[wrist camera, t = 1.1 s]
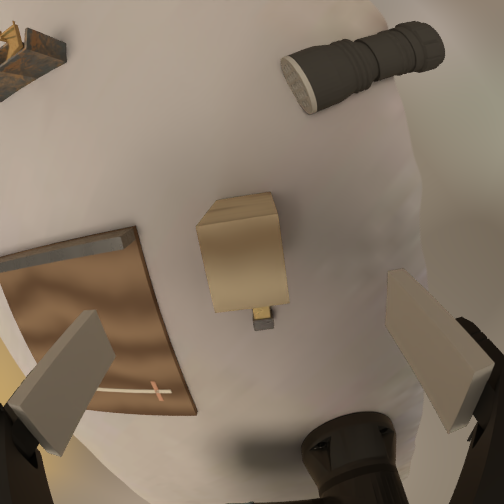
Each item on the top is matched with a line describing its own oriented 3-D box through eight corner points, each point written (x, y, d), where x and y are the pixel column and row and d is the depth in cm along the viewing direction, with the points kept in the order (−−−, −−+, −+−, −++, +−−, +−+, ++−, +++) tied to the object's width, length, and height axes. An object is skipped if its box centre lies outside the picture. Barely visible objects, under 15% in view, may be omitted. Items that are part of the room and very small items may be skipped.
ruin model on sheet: (67, 41, 22) (14, 19, 13) (68, 63, 23) (12, 44, 14) (2, 81, 23) (-50, 76, 14) (3, 102, 24) (-51, 100, 15)
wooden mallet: (287, 317, 32) (298, 381, 22) (240, 323, 32) (235, 388, 22) (270, 191, 27) (277, 213, 18) (216, 200, 28) (195, 226, 18)
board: (197, 411, 37) (193, 431, 33) (65, 403, 38) (56, 417, 35) (135, 225, 29) (120, 236, 25) (-5, 258, 30) (-22, 268, 26)
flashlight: (407, 27, 21) (431, 10, 16) (430, 71, 23) (459, 61, 18) (278, 67, 24) (283, 49, 19) (305, 117, 25) (317, 110, 20)
